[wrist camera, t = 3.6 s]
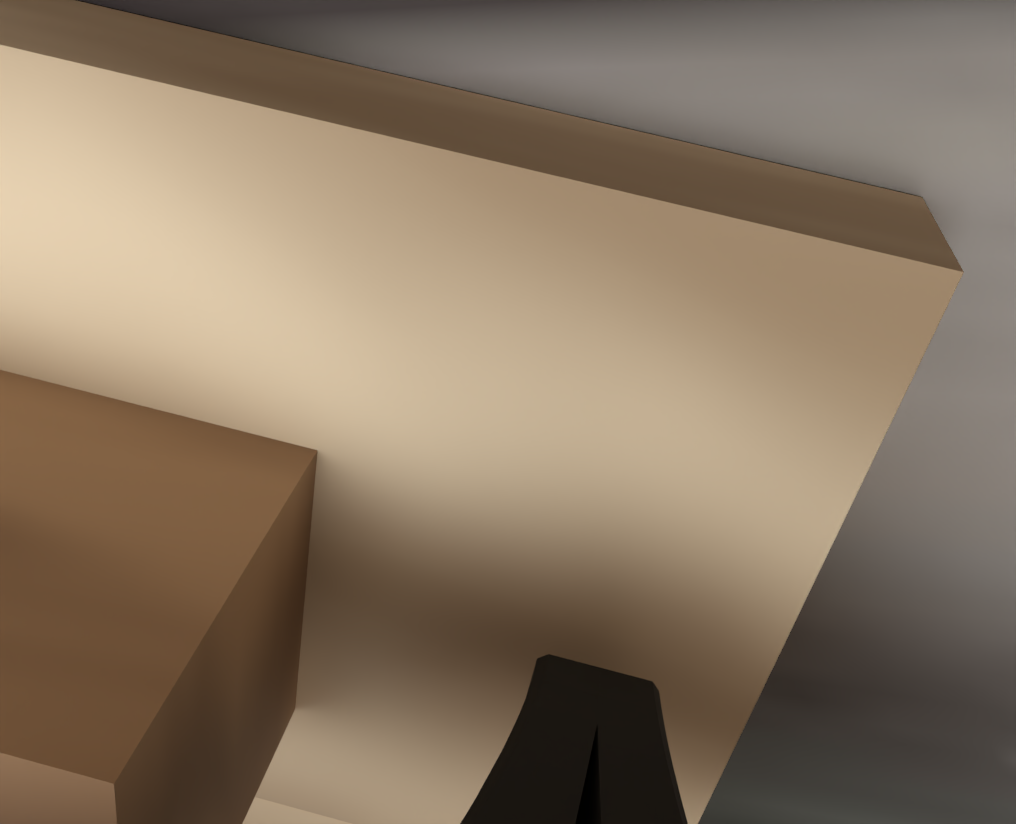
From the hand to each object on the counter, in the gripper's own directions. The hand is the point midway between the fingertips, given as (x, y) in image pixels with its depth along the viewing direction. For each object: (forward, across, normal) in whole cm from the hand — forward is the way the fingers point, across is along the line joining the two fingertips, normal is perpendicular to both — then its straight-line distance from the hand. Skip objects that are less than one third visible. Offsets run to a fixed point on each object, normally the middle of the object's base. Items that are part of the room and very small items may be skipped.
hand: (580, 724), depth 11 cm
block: (+1, +6, 0) cm, 6 cm away
